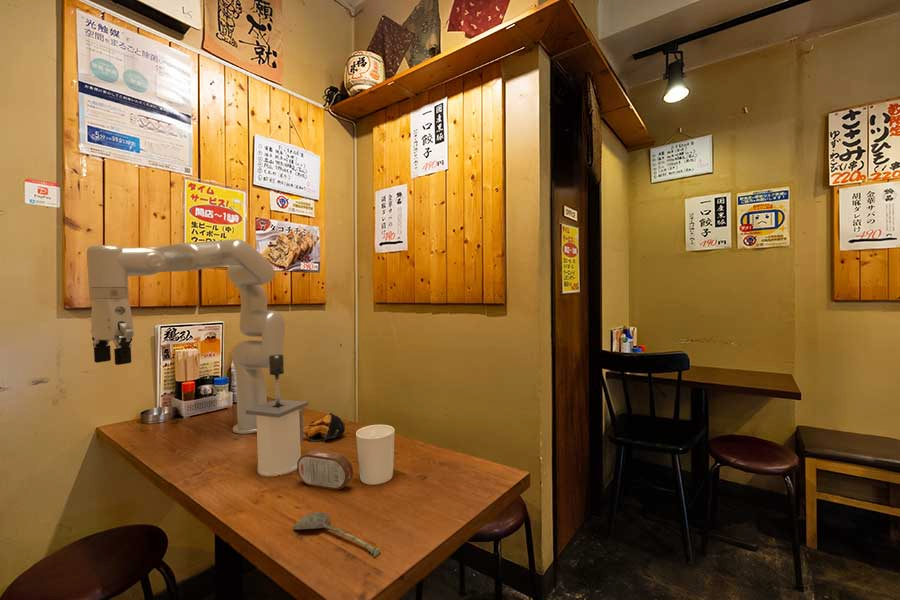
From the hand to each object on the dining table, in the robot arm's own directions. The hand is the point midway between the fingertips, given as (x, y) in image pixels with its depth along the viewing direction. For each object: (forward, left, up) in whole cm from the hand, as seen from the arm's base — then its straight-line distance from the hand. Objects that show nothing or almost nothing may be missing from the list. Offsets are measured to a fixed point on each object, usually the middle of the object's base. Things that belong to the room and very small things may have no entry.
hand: (112, 362), depth 98 cm
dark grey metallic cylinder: (-21, +32, -17) cm, 42 cm away
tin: (-16, +51, -32) cm, 62 cm away
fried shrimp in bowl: (-41, +28, -32) cm, 59 cm away
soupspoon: (-1, +66, -32) cm, 73 cm away
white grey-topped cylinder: (-23, +32, -32) cm, 50 cm away
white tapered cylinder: (-24, +61, -32) cm, 73 cm away
